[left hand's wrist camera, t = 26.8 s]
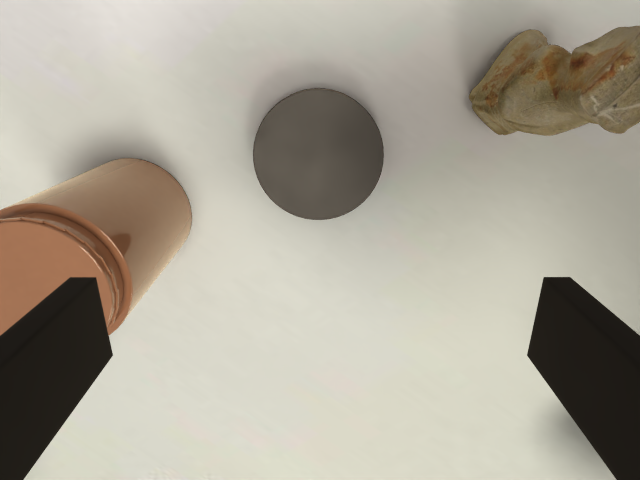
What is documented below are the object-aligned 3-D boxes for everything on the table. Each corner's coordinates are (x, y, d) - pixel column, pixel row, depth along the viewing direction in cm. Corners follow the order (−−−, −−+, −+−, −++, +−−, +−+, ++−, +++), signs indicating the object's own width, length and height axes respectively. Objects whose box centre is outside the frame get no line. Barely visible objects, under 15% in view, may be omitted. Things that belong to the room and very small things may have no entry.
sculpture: (564, 73, 34) (732, 78, 20) (492, 141, 36) (600, 187, 22) (519, 17, 33) (666, -19, 19) (446, 91, 35) (531, 107, 21)
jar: (210, 241, 40) (151, 334, 26) (117, 275, 41) (14, 381, 27) (159, 141, 36) (60, 186, 23) (60, 181, 38) (-92, 247, 24)
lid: (290, 63, 34) (288, 63, 32) (404, 127, 36) (408, 130, 34) (236, 179, 38) (232, 185, 36) (343, 232, 39) (344, 240, 38)
